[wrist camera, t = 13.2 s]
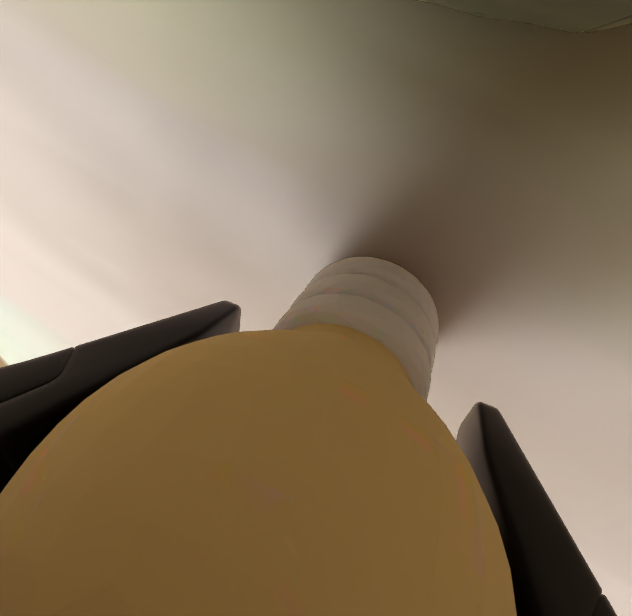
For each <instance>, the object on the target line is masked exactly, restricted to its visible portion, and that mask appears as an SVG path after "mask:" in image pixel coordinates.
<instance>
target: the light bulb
mask: <svg viewBox="0 0 632 616" xmlns="http://www.w3.org/2000/svg"><path fill="white" fill-rule="evenodd" d="M438 331H439V320H438V314H437V309H436V306H435V304H434V301H433V299H432V297H431V295H430V294H429V292H428V291H427V289H426V288H425V287H424V286H423V285H422V284H421V282H420V281H419V280H418V279H417V278H416V277H415V276H414V275H412V274H411V273H409V272H408V271H406V270H405V269H404V268H402V267H401V266H398V265H396V264H394V263H391V262H389V261H386V260H382V259H378V258H373V257H351V258H345V259H343V260H340V261H337V262H335V263H332V264H330V265H328V266H327V267H325V268H324V269H323V270H321V271H320V272H319V273H318V274H316V275H315V277H314V278H313V279H312V280H311V282H310V283H309V284H308V286H307V287H306V288H305V290H304V291H303V292H302V293H301V294H300V295H299V296H298V298H297V299H296V300H295V301H294V303H293V304H292V306H291V308H290V310H289V311H288V312H287V313H286V314H285V315H284V316H283V317H282V318H281V319H280V320H279V322H278V323H277V325H276V326H275V327H274V329H273V330H265V331H246V332H233V333H228V334H223V335H218V336H213V337H209V338H206V339H203V340H199V341H196V342H192V343H189V344H186V345H183V346H180V347H177V348H174V349H171V350H168V351H165V352H163V353H161V354H159V355H157V356H155V357H153V358H151V359H149V360H147V361H145V362H143V363H141V364H140V365H138V366H136V367H134V368H132V369H130V370H128V371H126V372H124V373H122V374H120V375H118V376H117V377H116V378H114V379H113V380H111V381H110V382H108V383H107V384H106V385H104V386H103V387H101V388H100V389H99V390H97V391H96V392H94V393H93V394H92V395H90V396H89V397H87V398H86V399H85V400H83V401H82V402H81V403H80V404H79V405H78V406H77V407H76V408H75V409H74V410H73V411H71V412H70V413H69V414H68V415H67V416H66V417H65V418H64V419H63V420H62V421H61V422H59V423H58V424H57V425H56V427H55V428H54V429H53V430H52V431H51V432H50V433H49V434H48V435H47V436H46V437H45V439H44V440H43V441H42V442H41V443H40V444H39V445H38V446H37V447H36V448H35V449H34V451H33V452H32V453H31V454H30V455H29V456H28V458H27V459H26V460H25V462H24V463H23V464H22V466H21V467H20V468H19V469H18V471H17V472H16V473H15V475H14V476H13V477H12V479H11V480H10V481H9V483H8V484H7V485H6V487H5V488H4V489H3V490H2V492H1V493H0V616H517V613H516V606H515V598H514V591H513V584H512V577H511V570H510V566H509V563H508V559H507V556H506V552H505V549H504V545H503V542H502V538H501V535H500V531H499V528H498V525H497V523H496V520H495V518H494V516H493V513H492V511H491V509H490V506H489V504H488V502H487V499H486V497H485V495H484V493H483V491H482V488H481V486H480V484H479V482H478V480H477V478H476V475H475V473H474V471H473V469H472V467H471V464H470V462H469V461H468V459H467V457H466V456H465V454H464V453H463V451H462V450H461V448H460V447H459V445H458V443H457V442H456V440H455V439H454V437H453V436H452V434H451V432H450V431H449V429H448V428H447V426H446V425H445V424H444V422H443V421H442V420H441V419H440V417H439V416H438V415H437V414H436V412H435V411H434V410H433V409H432V407H431V406H430V405H429V404H428V403H427V402H426V401H427V397H428V392H429V388H430V382H431V372H432V367H433V362H434V357H435V347H436V344H437V339H438Z"/></svg>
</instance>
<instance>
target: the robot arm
mask: <svg viewBox="0 0 632 616" xmlns="http://www.w3.org/2000/svg"><path fill="white" fill-rule="evenodd" d="M240 316H241V309H240V307H239V306H238V305H236V304H233V303H231V302H228V301H221V302H218V303H214V304H211V305H208V306H205V307H201V308H198V309H195V310H192V311H188V312H185V313H182V314H179V315H175V316H172V317H169V318H166V319H163V320H159V321H156V322H153V323H150V324H146V325H143V326H140V327H137V328H133V329H130V330H127V331H124V332H120V333H117V334H114V335H111V336H107V337H104V338H101V339H98V340H94V341H91V342H88V343H85V344H81V345H78V346H76V347H75V349H74V348H72V347H71V348H68V349H65V350H62V351H58V352H55V353H52V354H48V355H45V356H41V357H38V358H35V359H31V360H28V361H24V362H21V363H17V364H13V365H9V366H5V367H1V368H0V493H1V492H2V490H3V489H4V488H5V487H6V485H7V484H8V483H9V481H10V480H11V479H12V477H13V476H14V475H15V473H16V472H17V471H18V469H19V468H20V467H21V466H22V464H23V463H24V462H25V460H26V459H27V458H28V456H29V455H30V454H31V453H32V452H33V451H34V449H35V448H36V447H37V446H38V445H39V444H40V443H41V442H42V441H43V440H44V439H45V437H46V436H47V435H48V434H49V433H50V432H51V431H52V430H53V429H54V428H55V427H56V425H57V424H58V423H59V422H61V421H62V420H63V419H64V418H65V417H66V416H67V415H68V414H69V413H70V412H71V411H73V410H74V409H75V408H76V407H77V406H78V405H79V404H80V403H81V402H82V401H83V400H85V399H86V398H87V397H89V396H90V395H92V394H93V393H94V392H96V391H97V390H99V389H100V388H101V387H103V386H104V385H106V384H107V383H108V382H110V381H111V380H113V379H114V378H116V377H117V376H118V375H120V374H122V373H124V372H126V371H128V370H130V369H132V368H134V367H136V366H138V365H140V364H141V363H143V362H145V361H147V360H149V359H151V358H153V357H155V356H157V355H159V354H161V353H163V352H165V351H168V350H171V349H174V348H177V347H180V346H183V345H186V344H189V343H192V342H196V341H199V340H203V339H206V338H209V337H213V336H218V335H223V334H228V333H233V332H239V329H240ZM456 442H457V443H458V445H459V447H460V448H461V450H462V451H463V453H464V454H465V456H466V457H467V459H468V461H469V462H470V464H471V467H472V469H473V471H474V473H475V475H476V478H477V480H478V482H479V484H480V486H481V488H482V491H483V493H484V495H485V497H486V499H487V502H488V504H489V506H490V509H491V511H492V513H493V516H494V518H495V520H496V523H497V525H498V528H499V531H500V535H501V538H502V542H503V545H504V549H505V552H506V556H507V559H508V563H509V566H510V570H511V577H512V584H513V591H514V598H515V606H516V613H517V616H617V615H616V613H615V611H614V609H613V608H612V606H611V604H610V602H609V601H608V599H607V597H606V596H605V595H603V594H601V593H602V589H601V587H600V585H599V584H598V582H597V580H596V578H595V577H594V575H593V573H592V572H591V570H590V568H589V566H588V565H587V563H586V561H585V559H584V558H583V556H582V554H581V552H580V551H579V549H578V547H577V545H576V544H575V542H574V540H573V538H572V537H571V535H570V533H569V532H568V530H567V528H566V526H565V525H564V523H563V521H562V519H561V518H560V516H559V514H558V512H557V511H556V509H555V507H554V505H553V504H552V502H551V500H550V498H549V497H548V495H547V493H546V492H545V490H544V488H543V486H542V485H541V483H540V481H539V479H538V478H537V476H536V474H535V472H534V471H533V469H532V467H531V465H530V464H529V462H528V460H527V459H526V457H525V455H524V453H523V452H522V450H521V448H520V446H519V445H518V443H517V441H516V439H515V438H514V436H513V434H512V432H511V431H510V429H509V427H508V425H507V424H506V422H505V420H504V419H503V417H502V415H501V413H500V412H499V410H498V409H496V408H495V407H492V406H489V405H487V404H484V403H482V402H478V403H476V404H475V405H474V406H473V408H472V409H471V411H470V412H469V414H468V415H467V416H466V418H465V419H464V421H463V422H462V424H461V426H460V428H459V431H458V434H457V439H456Z"/></svg>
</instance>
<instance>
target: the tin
mask: <svg viewBox="0 0 632 616" xmlns="http://www.w3.org/2000/svg"><path fill="white" fill-rule="evenodd" d="M417 1H422V2H427V3H432V4H437V5H442V6H445V7H449V8H452V9H456V10H459V11H462V12H466V13H469V14H472V15H476V16H479V17H487V18H495V19H504V20H512V21H520V22H524V23H529V24H534V25H539V26H544V27H549V28H554V29H558V30H563V31H568V32H573V33H580V32H583V31H584V32H585V33H590V32H595V31H599V30H604V29H608V28H613V27H617V26H622V25H626V24H630V23H632V0H417Z"/></svg>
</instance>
